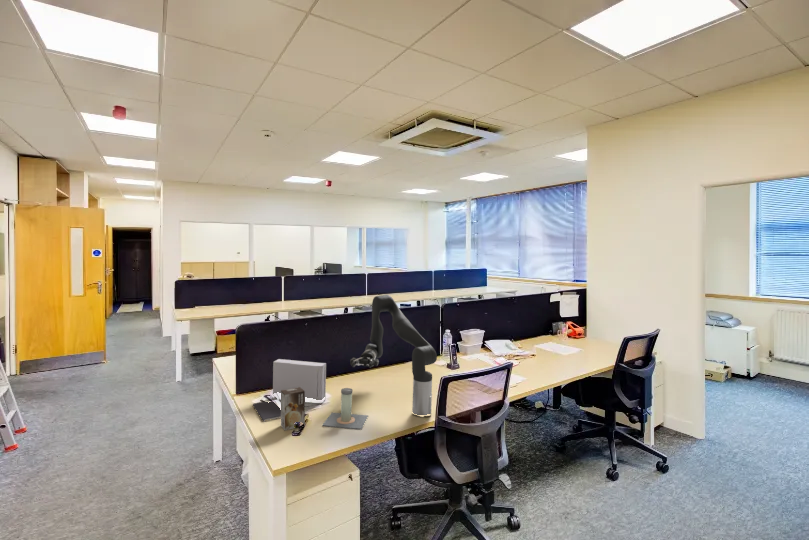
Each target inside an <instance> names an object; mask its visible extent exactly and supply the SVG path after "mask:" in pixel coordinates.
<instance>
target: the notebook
mask: <svg viewBox="0 0 809 540" xmlns="http://www.w3.org/2000/svg"><path fill="white" fill-rule="evenodd" d="M252 406H254V407H255V408H254V407H253V408H254V410H255V409H256V410H257V411H256V410H255V411H256V413H257V412H258V413H257V415H258V416H259V415H260V416H259V418H260V417H261V418H262V419H261V418H260V419H261V421H262V420H263V421H264V422H266V421H265V420H268V421H271V420H270V419H273V420H277V419H276V418H278V419H281V410H280V408H279V407H278V406H277V405H276V404H275V403H274V402H269V403H268V402H265V401H260V402H253V403H252ZM263 421H262V422H263Z"/></svg>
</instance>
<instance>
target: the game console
mask: <svg viewBox="0 0 809 540" xmlns="http://www.w3.org/2000/svg"><path fill="white" fill-rule="evenodd" d="M272 363H273V364H272V365H273V366H272V372H273V373H272V395H273V394H274V393H277V392H279V393H281V390H286V389H292V388H298V387H301V388H302V389H303V390H304V391H305V397H307V398H313V399H316V400H322V399H323V398H324V397H325V398H326V392H327V390H326V387H327V386H326V385H327V363H326V362H315V361H305V360H304V361H303V360H293V359H292V360H291V359H282V358H278V359H276V360H274V361H273V362H272Z"/></svg>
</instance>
